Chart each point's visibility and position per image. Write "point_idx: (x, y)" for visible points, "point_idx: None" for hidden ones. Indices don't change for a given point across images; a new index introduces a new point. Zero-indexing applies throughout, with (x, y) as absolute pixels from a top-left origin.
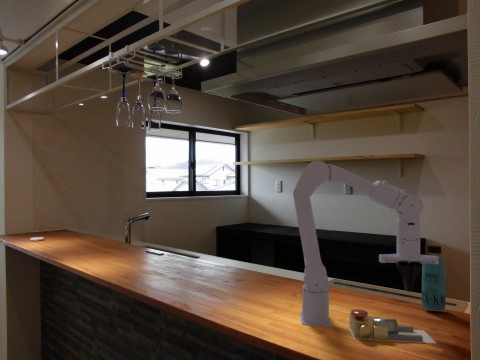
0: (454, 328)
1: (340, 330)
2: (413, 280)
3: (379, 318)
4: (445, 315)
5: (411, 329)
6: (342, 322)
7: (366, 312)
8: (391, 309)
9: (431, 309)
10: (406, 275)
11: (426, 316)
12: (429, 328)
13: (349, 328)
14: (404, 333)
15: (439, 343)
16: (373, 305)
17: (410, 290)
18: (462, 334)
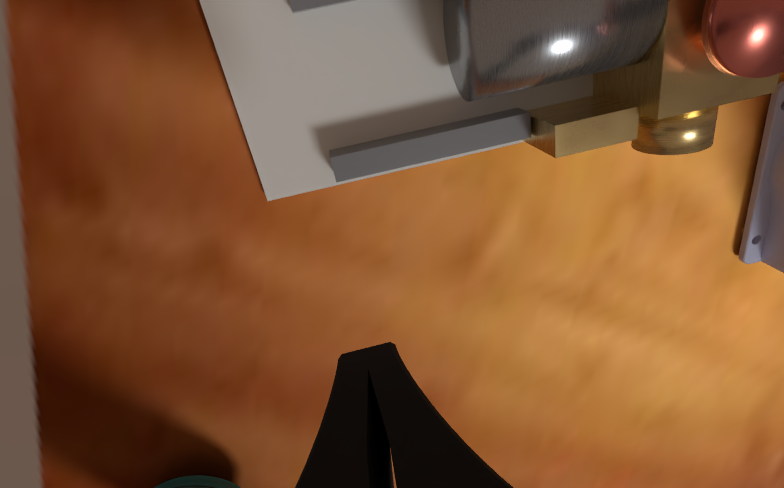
0: (92, 314)
1: None
2: (334, 448)
3: (598, 32)
4: (143, 471)
5: (341, 150)
6: (687, 187)
7: (728, 11)
8: None
9: (207, 477)
10: (459, 478)
11: (239, 425)
12: (231, 264)
13: None
14: (386, 103)
15: (178, 22)
16: None
17: (360, 353)
18: (41, 236)
